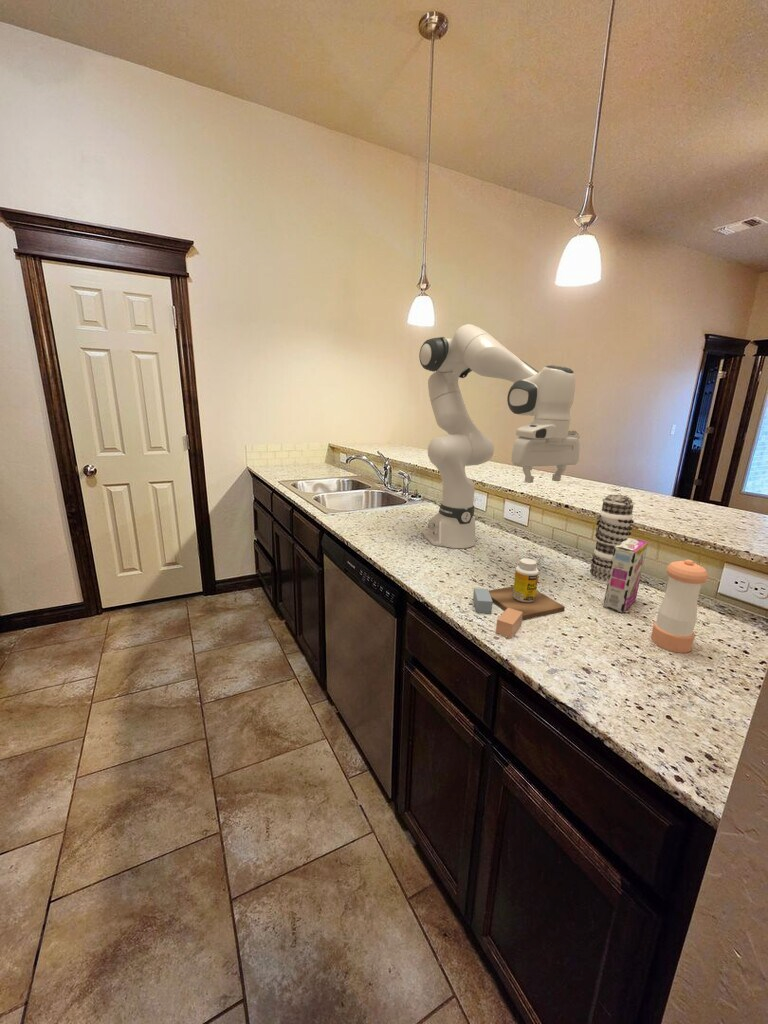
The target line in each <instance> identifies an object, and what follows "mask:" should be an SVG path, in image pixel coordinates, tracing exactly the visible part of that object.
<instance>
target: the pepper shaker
mask: <svg viewBox="0 0 768 1024" xmlns="http://www.w3.org/2000/svg"><path fill="white" fill-rule="evenodd" d="M665 571H666V573H667V575H668V581H667V586H666V590H665V593H664V597H663V598H662V601H661V603H660V605H659V607H658V611H657V617H656V621H655V622H654V623H653V626H652V631H651V636H650V639H651V641H652V642H653V643H654V644H655V645H657V646H658V647H660V648H662V649H664V650H667V651H670V652H675V653H681V654H683V653H689V652H691V651H692V647H693V644H694V639H695V636H696V635H695V634H696V633H694V629H695V627H696V622H697V619H698V618H697V617H698V599H699V596H700V592H701V587H702V584H704V583H706V581H707V580H708V579H709V574H708V572H707V570H706V568H705V567H703V566H702V565H699V564H697V563H695V562H694V561H693V560H691V559H685V560H677V561H671V562H670V563H669V564H668V565H667V567H666V570H665Z"/></svg>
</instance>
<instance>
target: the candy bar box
mask: <svg viewBox="0 0 768 1024" xmlns="http://www.w3.org/2000/svg"><path fill="white" fill-rule="evenodd" d="M627 538H628V539H626V540H624V541H623V542H621V543H620V544H618V545H616V546H615V547H614V553H613V558H612V563H611V568H610V573H609V579H608V584H606V589H605V594H604V595H605V596H604V600H603V604H602V606H603V607H604V608H606V609H609V610H611V611H613V612H614V611H615V612H617V613H621V614H623V613H625V612H626V611H627V609H629V608H630V606H632V604H633V603H634V602H635V601H636V600H637V596H638V591H639V587H640V581H641V576H642V572H643V569H644V568H643V567H644V563H645V559H646V555H647V549H648V545H649V542H647V541H644V540H640V539H636V538H631V537H627Z"/></svg>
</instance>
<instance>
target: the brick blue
mask: <svg viewBox="0 0 768 1024" xmlns="http://www.w3.org/2000/svg"><path fill="white" fill-rule="evenodd" d="M472 595H473V597H472V601H473V605H474V608H475V612H476V614H486V615H492V612H493V604H494V603H493V601H492V598H491V596H490V593H489V588H480V587H479V588H477V587H476V588H475V587H474V588H473V594H472Z"/></svg>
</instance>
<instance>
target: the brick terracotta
mask: <svg viewBox="0 0 768 1024" xmlns="http://www.w3.org/2000/svg"><path fill="white" fill-rule="evenodd" d="M503 611H504V610H503ZM522 616H523V612H521V611H518V610H514V609H511V608H507V609H506V610H505V611H504V612H502V613H501V615H500V616H499V617H498V618H497V619H496V625H495V627H496V628H495V634H497V633H499V634H498V635H500V634H501V635H500V636H503V635H504V636H503V637H506V636H507V637H506V638H509V637H510V638H509V639H512V638H513V637H514V635H515V634H516V632H517V631H518V630H519V629H520V628H521V626H522V622H523V620H522Z"/></svg>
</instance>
